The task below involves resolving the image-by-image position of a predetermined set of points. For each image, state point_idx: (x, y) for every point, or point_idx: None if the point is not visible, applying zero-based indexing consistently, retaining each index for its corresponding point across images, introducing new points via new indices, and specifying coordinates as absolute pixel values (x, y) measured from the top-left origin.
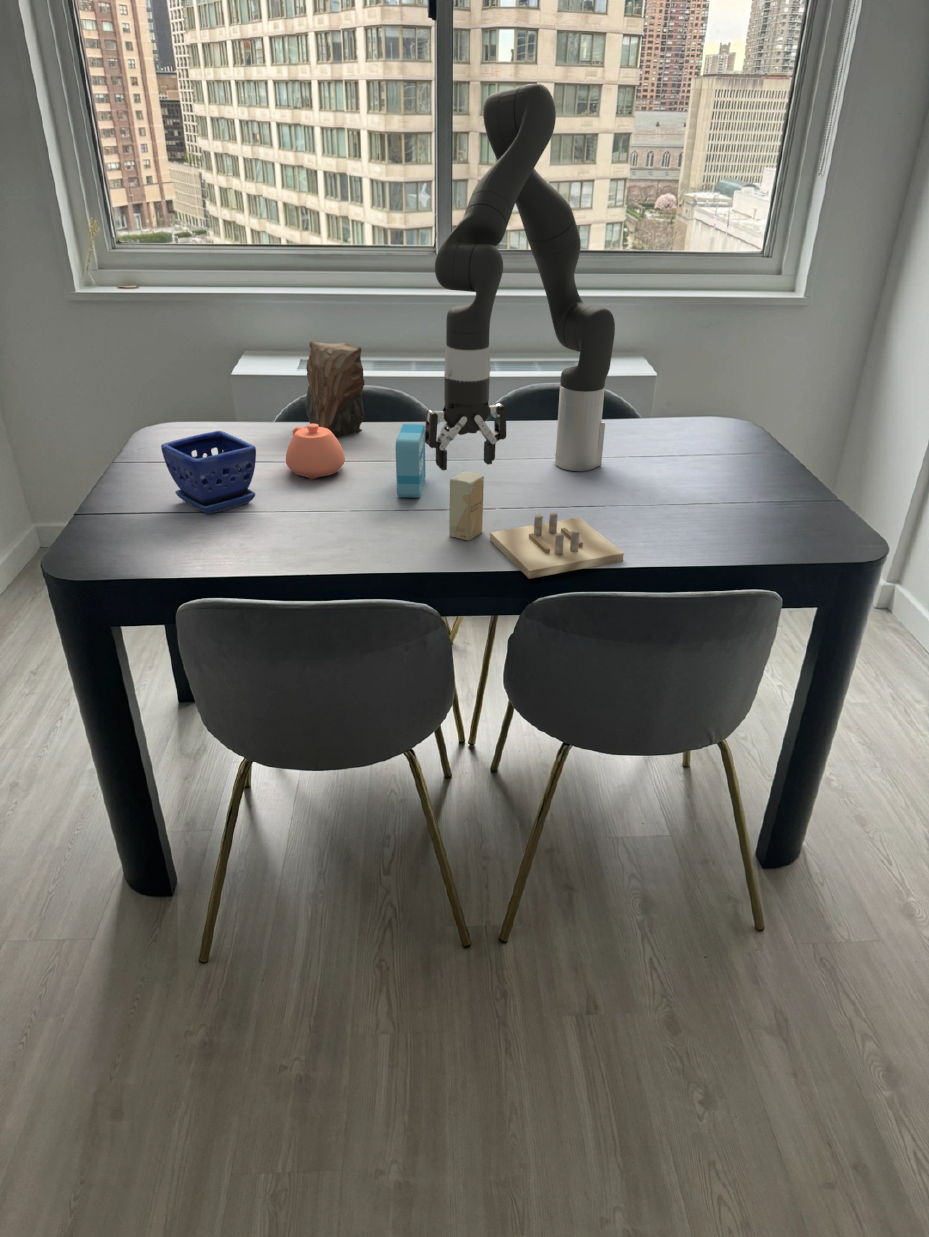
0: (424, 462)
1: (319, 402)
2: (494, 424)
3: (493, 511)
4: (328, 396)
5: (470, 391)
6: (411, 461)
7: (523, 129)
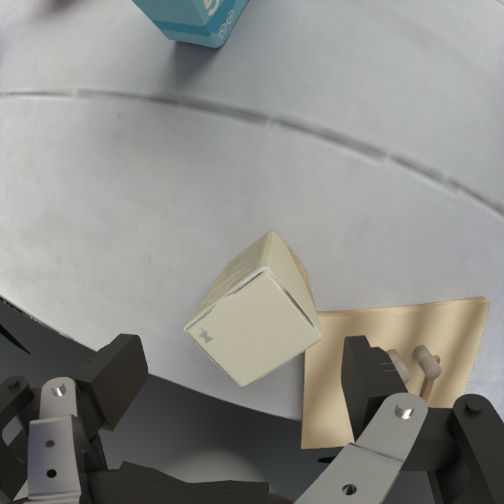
0: None
1: None
2: (474, 457)
3: (374, 168)
4: None
5: None
6: (169, 3)
7: None
